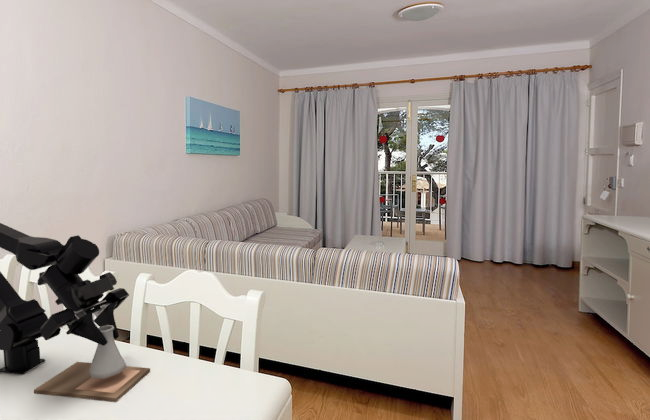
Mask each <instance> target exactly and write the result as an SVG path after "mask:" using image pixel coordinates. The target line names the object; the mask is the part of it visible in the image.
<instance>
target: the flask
mask: <svg viewBox="0 0 650 420" xmlns="http://www.w3.org/2000/svg"><path fill="white" fill-rule="evenodd" d="M98 329H99V330H100V331H101V333H102V334H103V335H104V337H105V338H106V340H107V344H106V345H104V346H103V345H101V344H98V343H97V346H96V349H95V353H94V355H93V357H92V360H91V362H90V363H91V366H90V368H89V371H88V373H89V374H90V376H91V377H92V378H102V379H105V378H108V377H110V376H113V375H116V374H119V373H120V372H121V371H123V370H124V369H125V368H126V367H127V366H128V365H127V363H126V362H125V360H124V358H123V356H122V354H121V353H120V351H119V348H118V346H117V344H116V340H115V339H114V337H113V330H114V326H113V325H105V326H101V327H100V326H99V327H98Z"/></svg>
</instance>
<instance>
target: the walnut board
mask: <svg viewBox="0 0 650 420" xmlns="http://www.w3.org/2000/svg"><path fill="white" fill-rule="evenodd" d="M91 363H92V362H86V361H85V362H84V361H83V362H82V361H75V363H73V364H71V365H70V366H68V367H67V368H65V369H64V370H62V371H60V372H59V373H58V374H56V375H55V376H53V377H51V378H50V379H49V380H47V381H45V382H44V383H42V384H40V385H39V386H38V387H35V388H34V389H33V394H38V395H45V396H46V395H48V396H57V397H66V398H76V399H84V400H94V401H105V402H113V403H116V402H118V401H119V400H120V399H121V398H122V397H124V396H125V394H127V393H128V392H129V391H130V390H131V389H133V388H134V387H135V386H136V384H138V383H139V382H141V380H143V378H145V377H146V376H147V375H148V374H149V373H151V367H150V368H149V367H141V366H128V365H126V366H127V367H126V368H125V369H124V370H123V371H121V372H120V373H119V374H116V375H113V376H110V377H108V378H105V379H102V378H92V377H91V376H90V374H89V373H88V371H89V368H90V366H91Z"/></svg>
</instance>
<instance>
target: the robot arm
mask: <svg viewBox="0 0 650 420" xmlns="http://www.w3.org/2000/svg"><path fill="white" fill-rule="evenodd" d="M0 248H1V249H2V250H4V251H7V252H9V253H12V254H13V255H14V256H15V259H16V261H17V263H19V264H20V265H22V266H24V267H25V268H26V269H28V270H30V271H34V270H35V271H36V270H39V269H42V268H46V267H47V269H46V270H45V271H41V272H39V273H38V279H37V286H42V285H46V284H47V286H48V287H49V288H50V289H51V291H52V292H53V293H54V295H55V296H56V298H57V299H56V300H55V304H56V305H57V306H60V305H63V306H64V307H65V309H62V310H60V311H57V312H55V313H52V314H51V315H50V316H49V317H48V315H47V313H45V312H46V309H44V308H42V306H41V305H40V303H39V301H38V300H36V299H35V298H33V299H31V300H25V299H23V298H22V297H21V296H20V295H19V293H18V292H17V291H16V290H15V288H14V287H13V285H11V283H10V282H9V281H8V279H7V278H6V277H5V275H4V274H3V273H2V272H1V271H0V351H3V362H4V366H3V367H1V368H0V373H3V374H11V375H12V374H14V375H23V374H26V373H27V372H29V371H31V370H32V369H34V368H36V367H37V366H40V365H41V364H43V363H45V362H46V359H45V358H41V353H40V352H41V351H40V350H41V349H40V346H39V339H40V338H43V339H44V340H45V341H48V340H50V339H53V338H55V337H57V336H60V333H61V331H62V329H61V328H63V327H64V326H67V328H68V330H67V331H66V332H65V334H66V335H74V336H77V337H81V338H84V339H86V340H88V341H91V342H94V343H96V344H97V345H98V344H101V345H103V346H104V345H106V344H107V340H106V338H105V337H104V335H103V334H102V333H101V331H100V330H99V329H98V328H99V327H101V326H105V325H113V326H114V330H113V337H114V340H117V339H118V338H119V337H120V334H119V331H118V327H117V324H116V320H115V314H114V312H115V311H114V310H117V309H118V308H119V307H120V306H121V304H123V303H124V302H125V300H126V299H127V298H128V297H129V296H130V294H129V293H128V292H127V289H125V288H120V287H119V288H114V286H115V285H117V284H118V283H117V282H118V281H117V278H116V277H115V276H114V274H112V273H111V272H110V271H109V272H106V273H104V274H101V275H99V279H95V280H93V281H91V280H90V279H86V280H85V279H84V280H83V278H82V277H81V276H80V275H81V274H83V273H84V272H85V271H86V270H87V269H88V268H89V267H90V265H91V264H92V263H93V262H94V261H95V260H96V258H97V257H98V256H100V249H99V247H98V245H97V244H96V243H94V242H91V241H90V240H88V239H85V238H81V236H80V235H78V234H77V235H73V236H69V238H68V239H67V242H66V243H65V244H62V243H61V241H60V240H57V239H52V238H49V237H40V236H32V235H29V234H26V233H24V232H22V231H20V230H17V229H15V228H13V227H11V226H8V225H5V224H4V223H1V222H0ZM106 292H108V293H107V294H106V295H105V296H104V294H105V293H106ZM100 299H101V300H100ZM93 315H94V316H93ZM93 317H96V318H95V319H93ZM98 326H99V327H98Z"/></svg>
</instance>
